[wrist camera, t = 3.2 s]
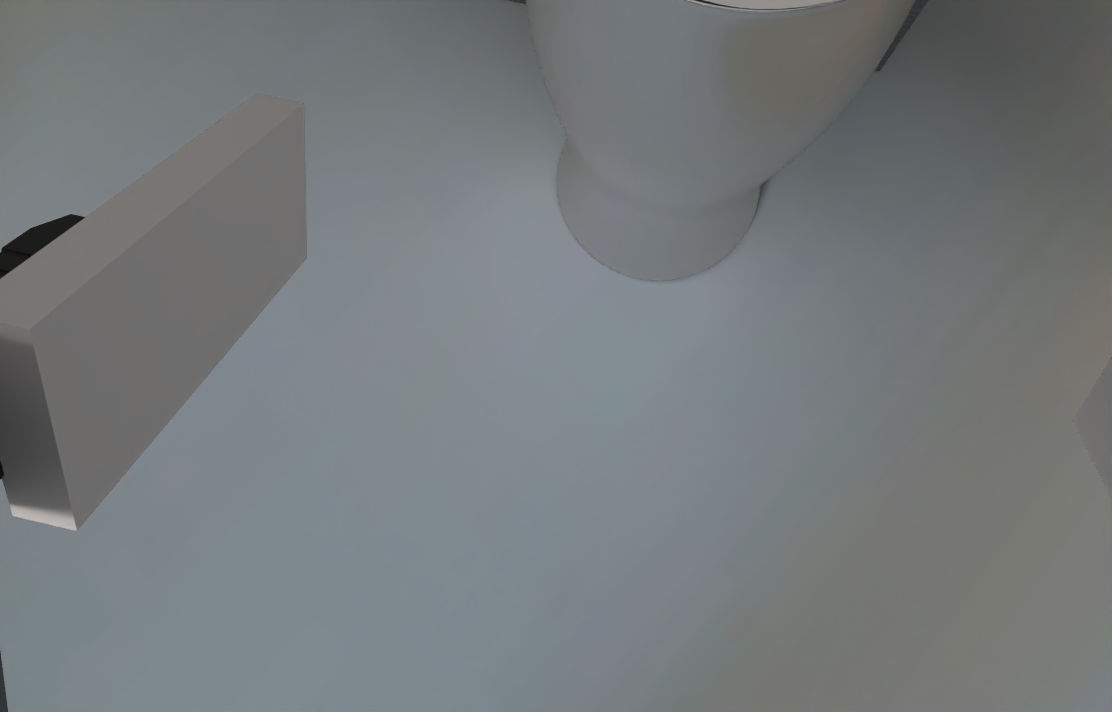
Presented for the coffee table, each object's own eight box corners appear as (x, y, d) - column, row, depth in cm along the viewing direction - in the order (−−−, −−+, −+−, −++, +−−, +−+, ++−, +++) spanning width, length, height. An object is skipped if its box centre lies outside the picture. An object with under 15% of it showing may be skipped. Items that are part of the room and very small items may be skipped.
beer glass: (699, 340, 26) (861, 116, 12) (498, 222, 27) (413, -128, 12) (813, 148, 27) (1095, -281, 13) (616, 40, 28) (667, -485, 13)
